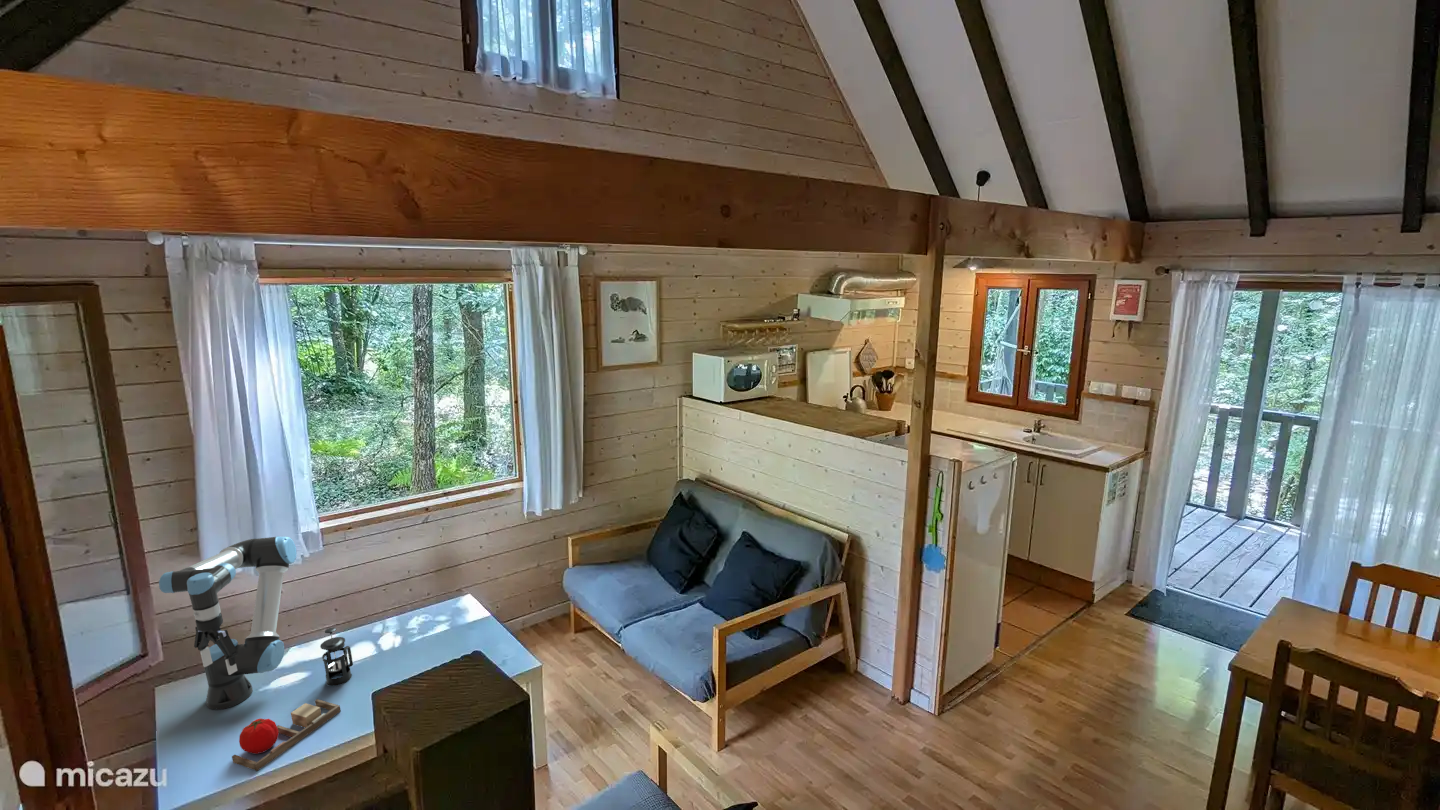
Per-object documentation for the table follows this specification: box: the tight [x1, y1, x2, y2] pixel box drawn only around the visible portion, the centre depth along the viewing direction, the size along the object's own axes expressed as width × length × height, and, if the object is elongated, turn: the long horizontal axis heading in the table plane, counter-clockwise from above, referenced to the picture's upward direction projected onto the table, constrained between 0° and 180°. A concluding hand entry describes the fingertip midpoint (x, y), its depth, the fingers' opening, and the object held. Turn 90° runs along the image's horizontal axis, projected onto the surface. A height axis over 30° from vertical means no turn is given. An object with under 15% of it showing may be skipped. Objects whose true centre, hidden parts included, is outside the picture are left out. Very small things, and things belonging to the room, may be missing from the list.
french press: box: [319, 626, 354, 687], centre depth 281 cm, size 12×9×23 cm
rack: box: [231, 698, 342, 772], centre depth 250 cm, size 12×33×3 cm, turn 159°
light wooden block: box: [290, 702, 323, 728], centre depth 257 cm, size 8×6×5 cm
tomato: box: [238, 718, 279, 755], centre depth 243 cm, size 12×12×11 cm
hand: (220, 668), depth 247 cm, fingers open, 13 cm apart
